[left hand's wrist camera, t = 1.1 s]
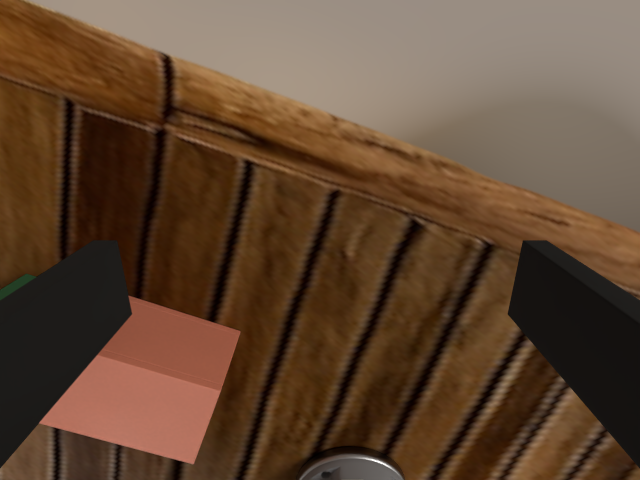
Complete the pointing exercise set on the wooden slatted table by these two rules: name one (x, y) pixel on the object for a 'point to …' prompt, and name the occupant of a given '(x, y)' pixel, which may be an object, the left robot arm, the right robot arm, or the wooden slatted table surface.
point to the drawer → (15, 285)
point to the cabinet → (151, 383)
